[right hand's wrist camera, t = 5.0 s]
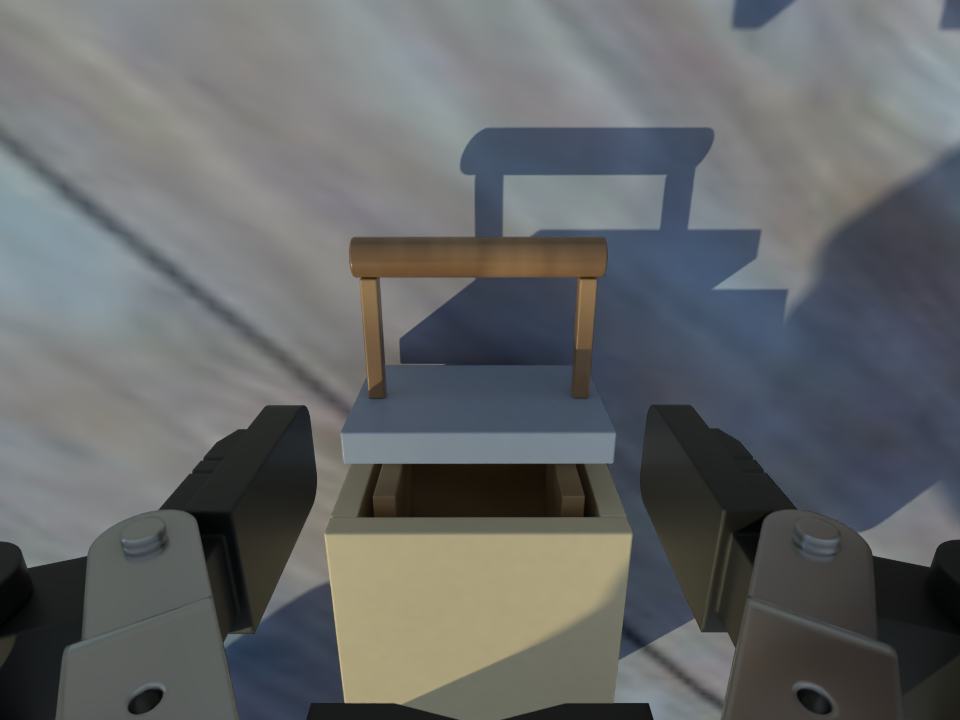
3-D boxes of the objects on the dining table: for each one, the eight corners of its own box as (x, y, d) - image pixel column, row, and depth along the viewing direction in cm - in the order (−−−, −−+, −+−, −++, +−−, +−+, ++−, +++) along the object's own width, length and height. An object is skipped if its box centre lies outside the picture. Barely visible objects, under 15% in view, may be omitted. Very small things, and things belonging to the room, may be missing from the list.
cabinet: (367, 422, 26) (323, 533, 19) (590, 422, 26) (634, 533, 19) (388, 688, 32) (361, 851, 25) (570, 688, 32) (597, 851, 25)
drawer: (361, 224, 22) (321, 252, 16) (595, 223, 22) (634, 252, 16) (392, 643, 30) (372, 759, 24) (566, 643, 30) (586, 758, 24)
